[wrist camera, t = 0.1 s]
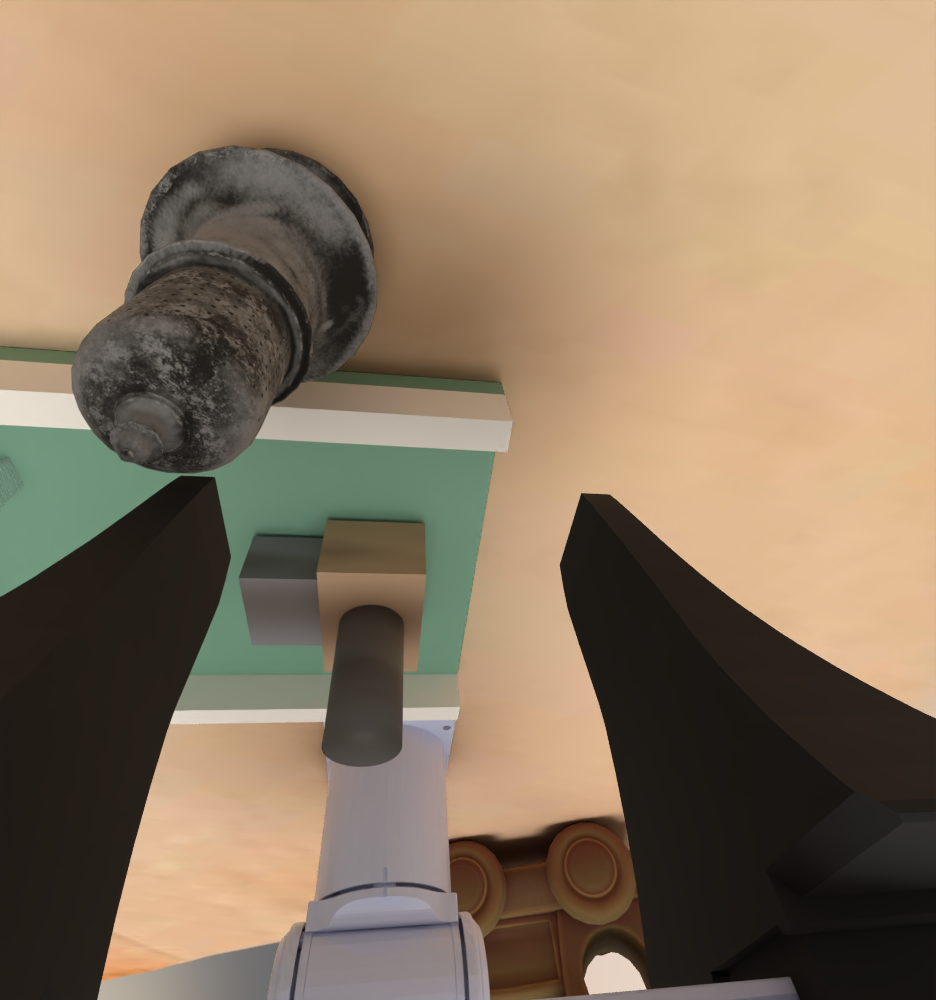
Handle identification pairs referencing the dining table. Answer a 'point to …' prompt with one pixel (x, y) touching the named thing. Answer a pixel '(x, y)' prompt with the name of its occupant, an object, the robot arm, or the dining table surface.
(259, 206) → the salt shaker
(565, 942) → the wooden toy train
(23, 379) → the pitch
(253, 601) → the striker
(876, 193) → the dining table surface
